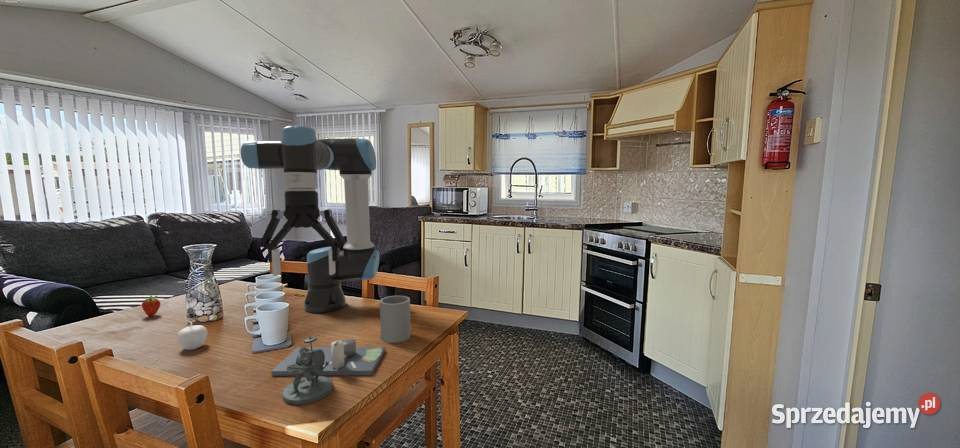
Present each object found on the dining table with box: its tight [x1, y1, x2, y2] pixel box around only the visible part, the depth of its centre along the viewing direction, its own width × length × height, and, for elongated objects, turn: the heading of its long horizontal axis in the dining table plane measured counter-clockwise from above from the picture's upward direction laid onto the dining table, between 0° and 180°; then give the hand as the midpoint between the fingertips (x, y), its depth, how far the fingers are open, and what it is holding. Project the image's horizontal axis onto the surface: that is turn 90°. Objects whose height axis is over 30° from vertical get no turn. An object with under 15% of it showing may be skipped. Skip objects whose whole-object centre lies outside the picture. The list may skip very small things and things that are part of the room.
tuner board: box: [270, 346, 386, 377], centre depth 102 cm, size 14×25×1 cm, turn 90°
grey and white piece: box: [330, 338, 357, 368], centre depth 100 cm, size 11×4×6 cm, turn 0°
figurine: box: [281, 335, 334, 406], centre depth 87 cm, size 11×11×12 cm
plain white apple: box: [177, 321, 208, 351], centre depth 111 cm, size 7×7×8 cm
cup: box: [379, 295, 412, 344], centre depth 118 cm, size 9×9×12 cm
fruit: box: [141, 294, 161, 317], centre depth 137 cm, size 5×5×8 cm
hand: (304, 274), depth 96 cm, fingers open, 13 cm apart
